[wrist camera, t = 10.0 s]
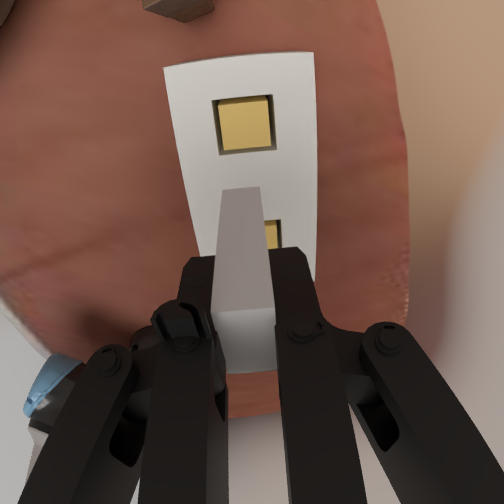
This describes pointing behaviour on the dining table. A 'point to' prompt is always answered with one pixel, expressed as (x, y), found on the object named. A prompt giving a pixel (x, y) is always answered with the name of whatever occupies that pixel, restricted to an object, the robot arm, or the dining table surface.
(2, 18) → the plant pot
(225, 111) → the peg near
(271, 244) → the peg far
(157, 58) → the dining table surface
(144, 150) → the dining table surface
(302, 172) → the socket block
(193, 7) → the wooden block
